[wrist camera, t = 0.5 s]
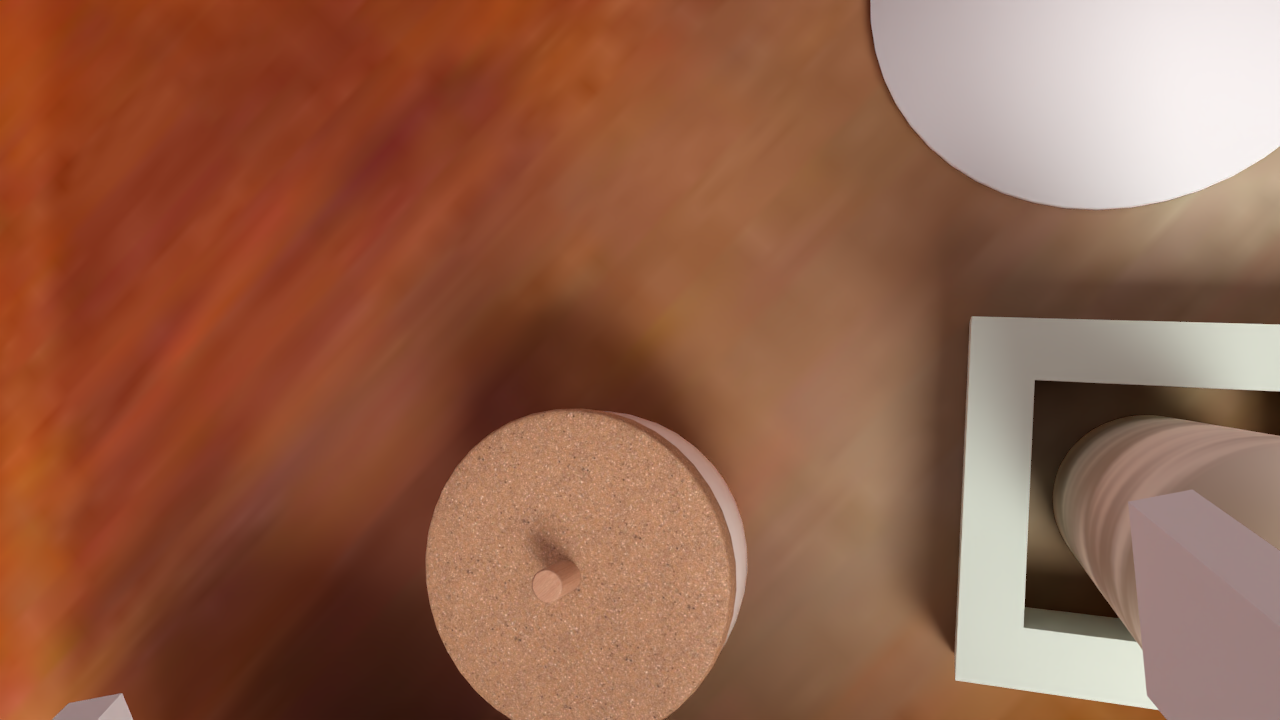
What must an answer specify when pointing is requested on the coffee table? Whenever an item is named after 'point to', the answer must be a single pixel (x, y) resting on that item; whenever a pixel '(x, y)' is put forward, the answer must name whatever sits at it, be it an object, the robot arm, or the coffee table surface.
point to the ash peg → (1158, 490)
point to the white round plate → (1087, 92)
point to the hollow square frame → (1000, 486)
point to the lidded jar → (585, 567)
